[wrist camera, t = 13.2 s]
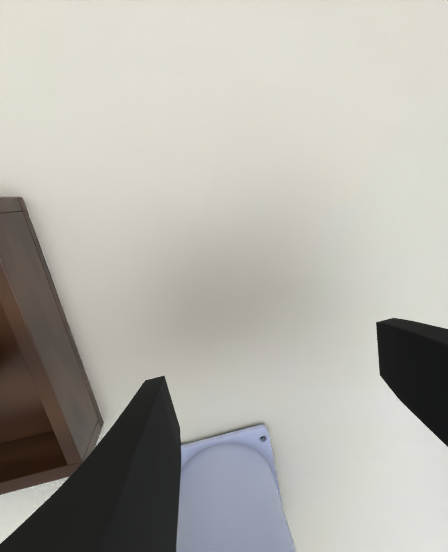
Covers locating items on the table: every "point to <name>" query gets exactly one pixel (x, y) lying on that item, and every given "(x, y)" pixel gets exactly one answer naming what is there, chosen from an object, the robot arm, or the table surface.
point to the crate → (37, 367)
